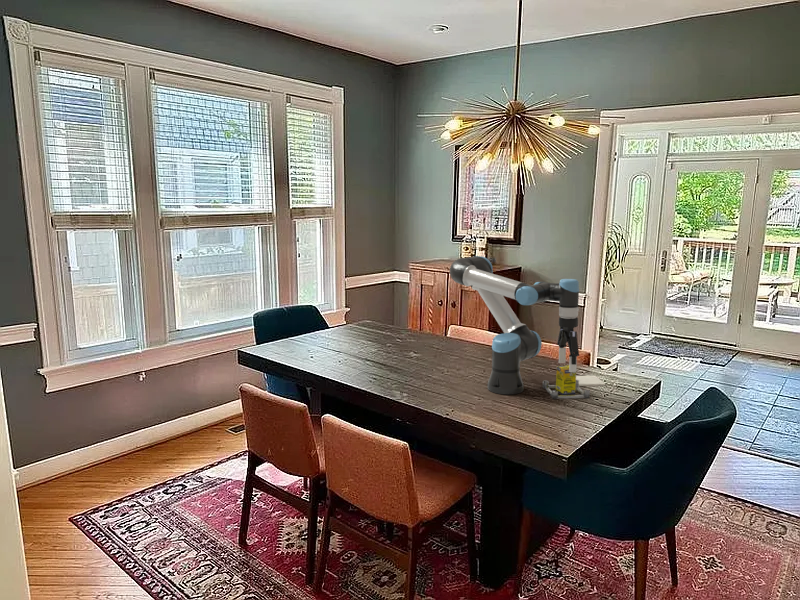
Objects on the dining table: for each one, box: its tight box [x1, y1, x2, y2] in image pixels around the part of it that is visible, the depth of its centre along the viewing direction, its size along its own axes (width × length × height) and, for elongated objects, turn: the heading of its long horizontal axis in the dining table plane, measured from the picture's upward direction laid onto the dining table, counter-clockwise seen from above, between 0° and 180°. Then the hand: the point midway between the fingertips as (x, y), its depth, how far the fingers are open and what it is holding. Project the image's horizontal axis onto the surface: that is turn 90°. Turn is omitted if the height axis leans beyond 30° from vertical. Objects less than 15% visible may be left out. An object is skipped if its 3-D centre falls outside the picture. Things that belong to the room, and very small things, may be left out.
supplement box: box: [555, 364, 577, 395], centre depth 228 cm, size 6×6×11 cm
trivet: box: [576, 375, 606, 387], centre depth 243 cm, size 12×12×1 cm
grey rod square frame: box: [542, 379, 591, 400], centre depth 229 cm, size 15×15×3 cm
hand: (567, 367), depth 227 cm, fingers open, 13 cm apart
